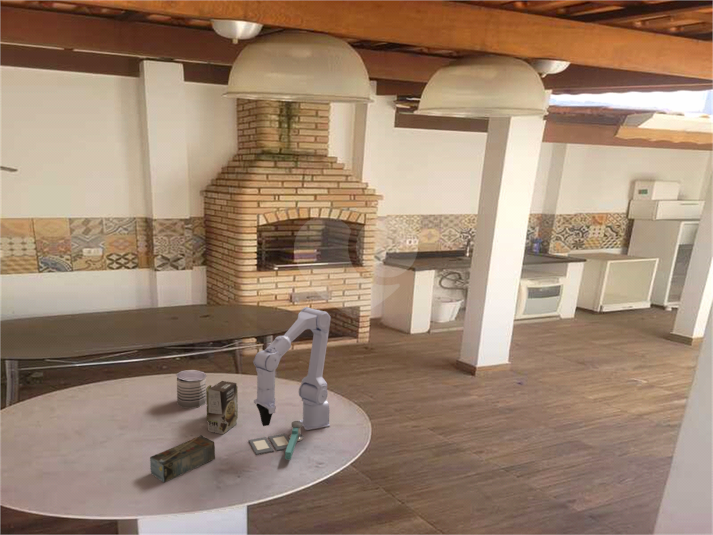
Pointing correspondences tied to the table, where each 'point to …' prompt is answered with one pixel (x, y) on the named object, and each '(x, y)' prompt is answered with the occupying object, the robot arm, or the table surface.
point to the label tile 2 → (279, 441)
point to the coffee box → (222, 407)
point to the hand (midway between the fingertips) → (265, 424)
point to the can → (191, 388)
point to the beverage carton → (182, 458)
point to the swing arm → (292, 439)
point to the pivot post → (299, 435)
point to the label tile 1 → (261, 445)
